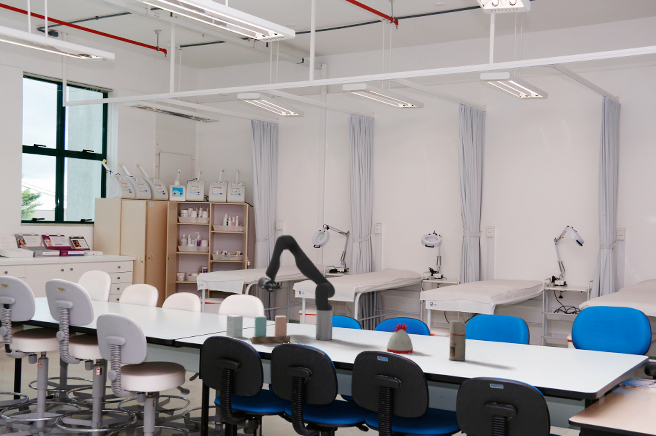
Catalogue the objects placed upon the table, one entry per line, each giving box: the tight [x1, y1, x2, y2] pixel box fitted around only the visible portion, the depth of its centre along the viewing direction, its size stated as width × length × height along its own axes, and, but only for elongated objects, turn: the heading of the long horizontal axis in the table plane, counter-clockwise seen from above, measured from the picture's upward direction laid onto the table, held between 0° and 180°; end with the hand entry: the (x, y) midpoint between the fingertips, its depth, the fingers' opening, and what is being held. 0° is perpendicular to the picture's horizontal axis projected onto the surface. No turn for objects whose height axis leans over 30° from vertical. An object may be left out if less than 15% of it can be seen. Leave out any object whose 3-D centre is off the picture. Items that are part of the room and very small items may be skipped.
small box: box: [226, 314, 244, 338], centre depth 386 cm, size 8×6×13 cm
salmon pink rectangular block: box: [274, 315, 288, 336], centre depth 370 cm, size 6×5×14 cm
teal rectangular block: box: [253, 315, 268, 337], centre depth 367 cm, size 6×5×14 cm
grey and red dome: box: [386, 323, 414, 355], centre depth 353 cm, size 14×14×15 cm
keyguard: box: [249, 335, 291, 345], centre depth 371 cm, size 21×15×5 cm
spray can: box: [448, 319, 467, 361], centre depth 332 cm, size 8×8×20 cm
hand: (274, 287), depth 386 cm, fingers closed
